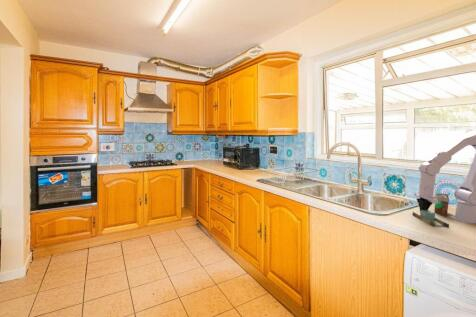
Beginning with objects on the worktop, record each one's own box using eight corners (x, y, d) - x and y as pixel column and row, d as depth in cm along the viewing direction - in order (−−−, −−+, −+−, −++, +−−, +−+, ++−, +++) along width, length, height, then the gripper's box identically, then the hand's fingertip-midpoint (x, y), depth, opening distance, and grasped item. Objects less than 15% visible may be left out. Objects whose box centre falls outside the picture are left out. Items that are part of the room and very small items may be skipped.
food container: (431, 209, 137) (434, 191, 136) (446, 211, 133) (448, 193, 132) (431, 214, 128) (433, 196, 127) (446, 217, 124) (449, 198, 123)
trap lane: (425, 216, 125) (425, 212, 125) (448, 228, 110) (449, 224, 110) (412, 215, 126) (412, 212, 125) (433, 227, 110) (434, 223, 110)
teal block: (428, 218, 121) (429, 210, 121) (434, 221, 117) (435, 213, 117) (419, 217, 121) (420, 209, 121) (425, 220, 117) (426, 212, 117)
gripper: (409, 183, 128) (406, 208, 130) (427, 189, 114) (424, 218, 115) (423, 183, 127) (420, 209, 129) (444, 190, 113) (440, 219, 115)
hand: (423, 213), depth 122 cm, fingers closed
